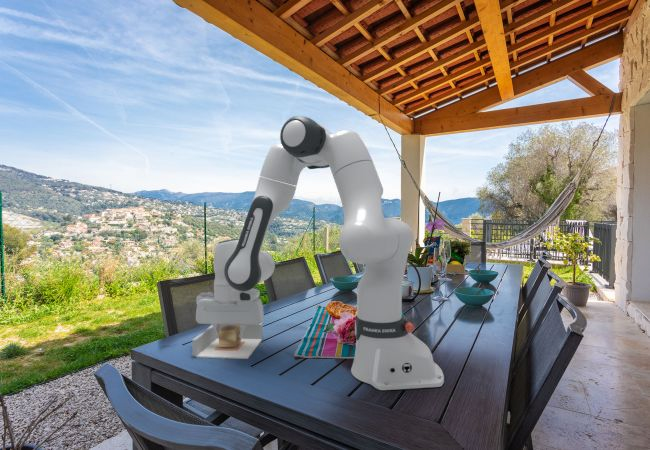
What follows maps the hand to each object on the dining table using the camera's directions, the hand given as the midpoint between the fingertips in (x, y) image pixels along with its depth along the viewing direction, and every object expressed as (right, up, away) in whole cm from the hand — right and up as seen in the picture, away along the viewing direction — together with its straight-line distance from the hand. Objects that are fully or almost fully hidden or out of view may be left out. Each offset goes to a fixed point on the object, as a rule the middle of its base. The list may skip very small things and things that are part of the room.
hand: (230, 338), depth 107 cm
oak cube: (0, -2, 0) cm, 2 cm away
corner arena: (0, -3, 0) cm, 3 cm away
